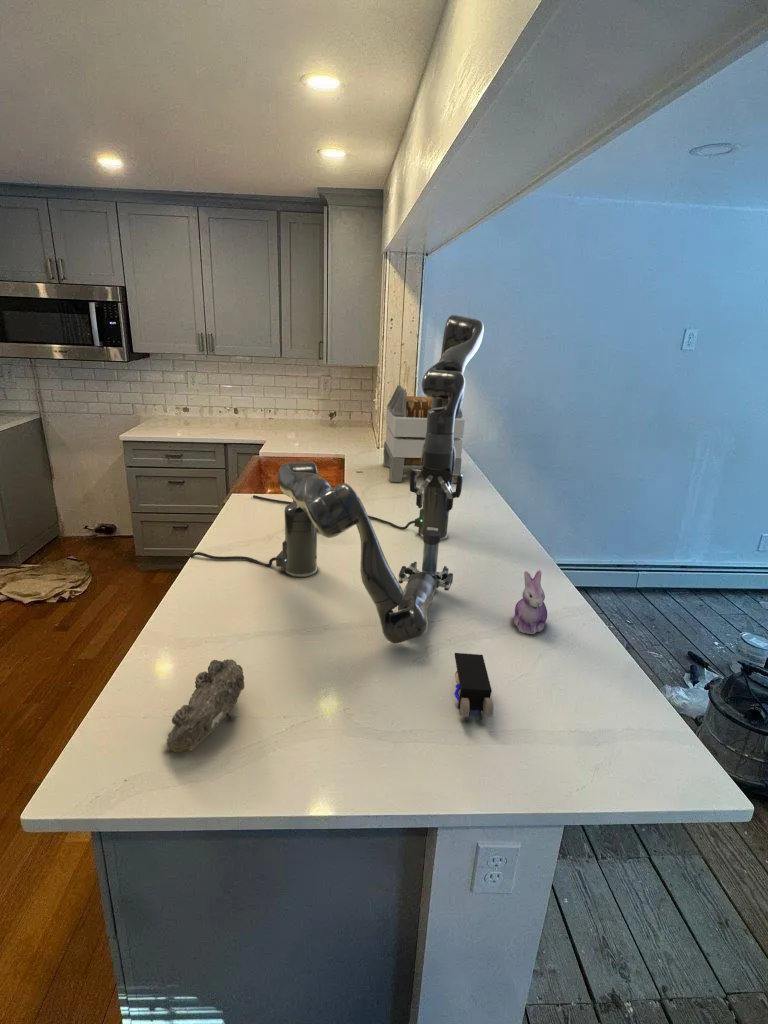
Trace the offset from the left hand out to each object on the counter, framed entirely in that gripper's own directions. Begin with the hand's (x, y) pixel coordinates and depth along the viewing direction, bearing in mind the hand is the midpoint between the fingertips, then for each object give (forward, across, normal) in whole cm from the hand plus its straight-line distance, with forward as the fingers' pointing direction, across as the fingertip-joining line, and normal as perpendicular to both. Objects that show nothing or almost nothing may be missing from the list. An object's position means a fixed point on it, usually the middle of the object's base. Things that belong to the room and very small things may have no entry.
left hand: (430, 566), depth 160 cm
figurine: (-12, -28, +7) cm, 32 cm away
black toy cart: (-47, -17, +7) cm, 51 cm away
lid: (-2, 0, -11) cm, 11 cm away
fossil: (-66, +30, +7) cm, 73 cm away
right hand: (-2, 0, -18) cm, 18 cm away
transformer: (+117, +26, +7) cm, 120 cm away
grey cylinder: (-2, 0, +7) cm, 7 cm away
